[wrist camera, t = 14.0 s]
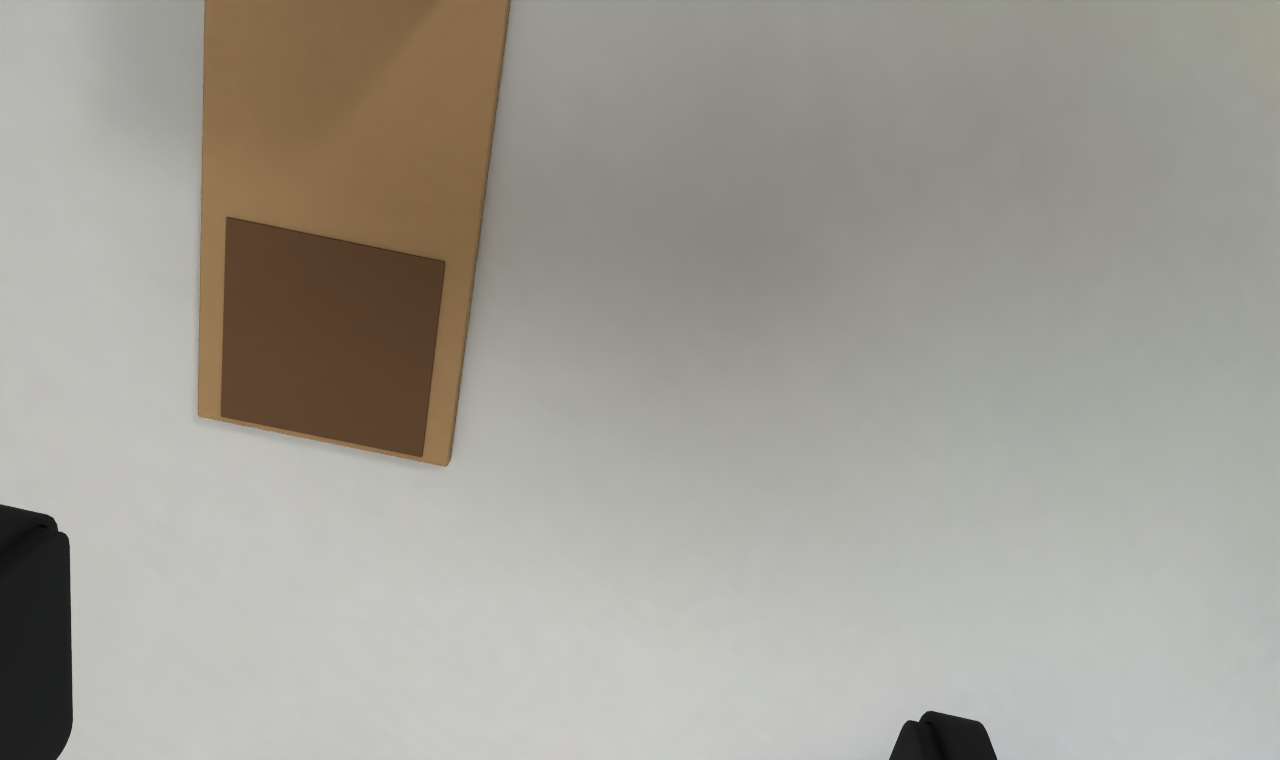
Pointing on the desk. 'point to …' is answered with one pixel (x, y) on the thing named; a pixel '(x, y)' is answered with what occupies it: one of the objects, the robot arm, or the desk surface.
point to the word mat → (344, 214)
